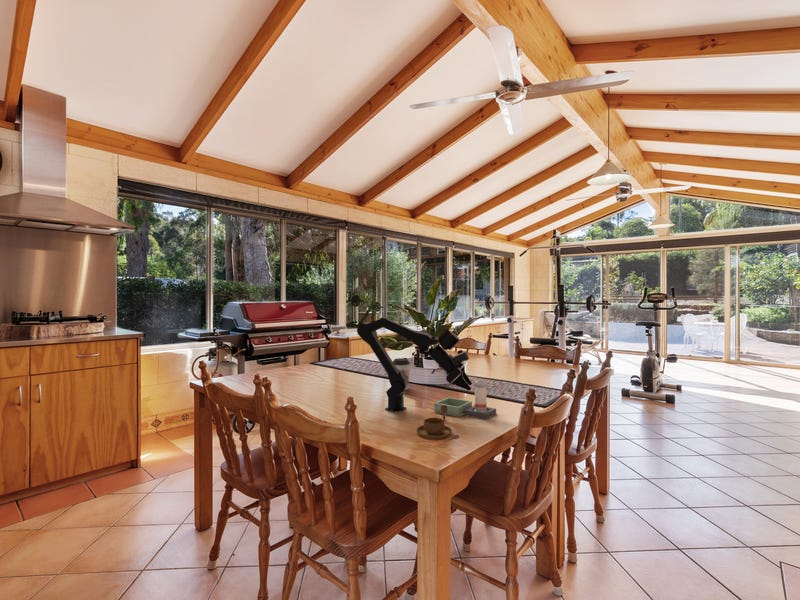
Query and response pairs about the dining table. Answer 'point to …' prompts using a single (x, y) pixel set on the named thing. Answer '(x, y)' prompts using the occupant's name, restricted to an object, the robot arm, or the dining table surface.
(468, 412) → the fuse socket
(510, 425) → the dining table surface
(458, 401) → the parts tray
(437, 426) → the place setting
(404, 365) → the coffee cup
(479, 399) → the fuse
